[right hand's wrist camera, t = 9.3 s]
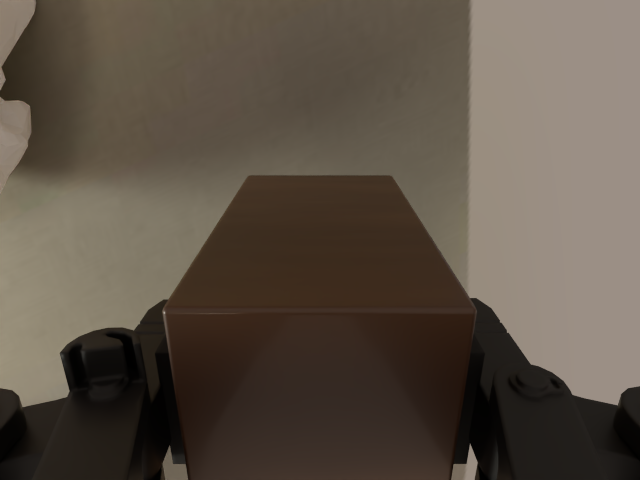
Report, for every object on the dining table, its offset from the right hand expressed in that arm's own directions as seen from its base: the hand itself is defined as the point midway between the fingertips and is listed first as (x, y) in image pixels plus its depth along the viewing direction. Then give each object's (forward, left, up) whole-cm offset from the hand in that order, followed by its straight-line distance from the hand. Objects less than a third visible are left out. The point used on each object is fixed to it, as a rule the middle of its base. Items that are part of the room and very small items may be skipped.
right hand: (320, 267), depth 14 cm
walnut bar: (-8, -4, 0) cm, 9 cm away
